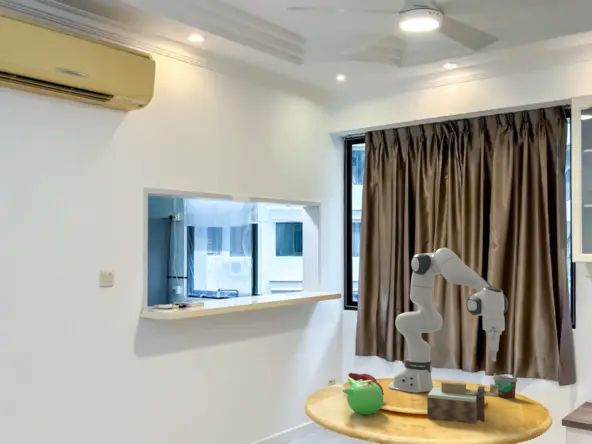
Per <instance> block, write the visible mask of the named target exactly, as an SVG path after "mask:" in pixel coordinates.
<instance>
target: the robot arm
mask: <svg viewBox="0 0 592 444" xmlns="http://www.w3.org/2000/svg"><path fill="white" fill-rule="evenodd" d="M410 261H411V262H410V267H411V270H412V274H411V279H410V292H409V293H410V294H409V299H410V300H411V302H412V303H413V304H415V305H416V306H417V311H405V312H402V313H400V314H398V315H397V316H396V318H395V327H396V329H397V331H398V333H400V334H401V335H403V337H404V339H405V341H406V344H407V353H408V354H407V355H408V356H407V357H408V358H406V359H405V360H404V363H403V365H404V367H402V368H401V369H400V370H399V371H397V372H395V374H394V376H393V380H392V381H391V382H390V383H389V384H388V389H390V390H396V391H402V392H409V393H416V394H418V393H424V392H425V393H426V392H430V391H431V390H432V389H433V387H434V383H433V378H432V371H433V370H432V369H433V368H432V366H433V365H432V360H431V345H430V344H429V343H428V342H427V341H426V340H424V339H423V337H422V334H423V333H424V334H425V333H427V334H428V333H434V332H438V331H440V330H441V329H442V327H443V324H444V323H443V322H444V321H443V317H442V315H441V314H440V312H438V311H437V309H436V307H435V305H434V302H433V301H434V300H433V299H434V298H433V296H434V295H433V293H434V277H435V276H438V275H439V276H442V277H443V278H444V279H445V280H446V281H447V282H448V283H451V284H453V285H457V286H458V285H461V286H466V287H470V288H472V289H474V290H475V291H477V292H476V293H472V294H470V295H468V297H467V299H466V309H467V311H468V312H469V313H470V315H472V316H478V317H479V316H482V330H484V331H485V334H486V335H488V351H489V352H490V355H491V356H490V357H491V362H496V361H497V353H498V352H499V347H500V346H499V343H500V338H501V337H500V335H502V334H503V333H502V332H504V331H505V329H506V323H505V320H506V319H505V315H504V314H505V313H506V312H507V310H508V308H509V301H508V299H507V297H506V295H505V294H504V292H503V290H502V289H501V288H499V287H498V286H497V287H496V286H492V285H491V284H490V283H489V281H487V280H486V279H485V278H484V277H483V276H482V275H481V274H480V273H478V272H477V271H476V270H474V269H472V268H470V267H469V266H468V265H467V264H465V263H464V261H463V260H461V258H460V257H459V256H458V255H457V254H456V253H455V252H454V251H452V249H450V248H448V247H441V248H438V249H437V250H436V251H435V252H426V253H425V252H424V253H416V254H415V255H413V257H412V258H411V260H410Z"/></svg>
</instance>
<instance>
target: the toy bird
mask: <svg viewBox="0 0 592 444" xmlns="http://www.w3.org/2000/svg"><path fill="white" fill-rule="evenodd" d="M347 381H348V383H349V385H350V387H348V388H343V389H342V392H343V393H345V394H346V401H347V404H348V406H349V408H350V409H351V410H352V411H353V412H354V413H357V414H359V415H366V416H367V415H372V414H375V413H376V412H378V411H379V410H380V409H381V408H382V406H383V403H384V395H383V393H384V392H383V393H382V390H381V389H380V387H379V386H378V385H377V384H375V383H374V382H371V381H372V380H367V381H363V380H359V381H355V380H353V379H352V378H350V377H349V376H348V377H347Z"/></svg>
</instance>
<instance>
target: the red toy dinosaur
mask: <svg viewBox="0 0 592 444" xmlns="http://www.w3.org/2000/svg"><path fill="white" fill-rule="evenodd" d="M348 377H350V378H352V379H353V380H355V381H357V382H359V381H367V380H372V381H371V382H374V383H375V384H377V385H378V386H379V387H380V389H381V390H382V393H383V396H384V395H385V394H384V389H383V387H382V385H381V384H380V383H379V382H377V379H376V378H375V377H374V376H373V375H371V374H367V373H357V372H349V373H348Z"/></svg>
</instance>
